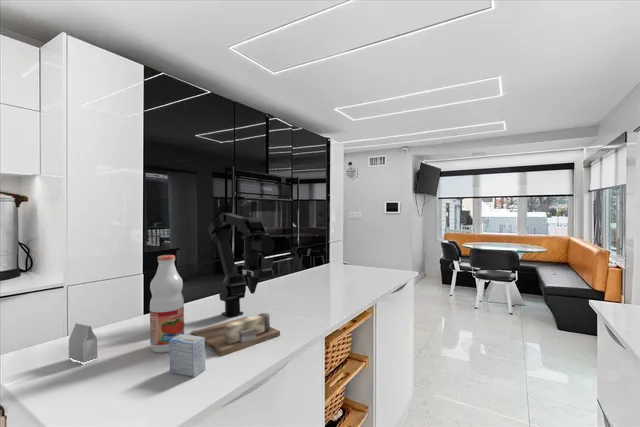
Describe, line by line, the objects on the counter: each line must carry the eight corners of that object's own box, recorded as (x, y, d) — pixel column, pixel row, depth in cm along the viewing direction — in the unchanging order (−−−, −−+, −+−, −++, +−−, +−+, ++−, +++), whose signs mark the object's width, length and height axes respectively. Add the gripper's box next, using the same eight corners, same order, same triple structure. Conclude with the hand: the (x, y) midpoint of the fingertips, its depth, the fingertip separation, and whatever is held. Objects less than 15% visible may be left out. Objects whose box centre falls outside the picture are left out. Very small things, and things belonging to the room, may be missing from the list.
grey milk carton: (83, 365, 87) (82, 328, 87) (68, 360, 90) (68, 325, 90) (97, 359, 91) (96, 324, 91) (83, 355, 93) (82, 321, 93)
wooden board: (191, 336, 107) (190, 322, 107) (246, 320, 122) (245, 308, 122) (221, 355, 92) (221, 340, 92) (280, 335, 107) (279, 321, 107)
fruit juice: (166, 339, 105) (165, 253, 105) (190, 342, 102) (189, 254, 102) (143, 351, 96) (141, 257, 96) (168, 355, 93) (167, 258, 93)
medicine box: (206, 369, 84) (205, 336, 84) (194, 378, 80) (193, 343, 80) (181, 365, 86) (181, 333, 86) (169, 373, 82) (168, 339, 82)
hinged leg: (265, 327, 110) (265, 312, 110) (271, 329, 107) (271, 314, 107) (223, 341, 98) (223, 324, 98) (230, 344, 96) (229, 327, 96)
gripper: (284, 251, 118) (285, 293, 118) (256, 247, 131) (256, 285, 131) (259, 254, 110) (260, 299, 110) (231, 250, 123) (232, 290, 123)
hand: (252, 293), depth 119 cm, fingers closed
